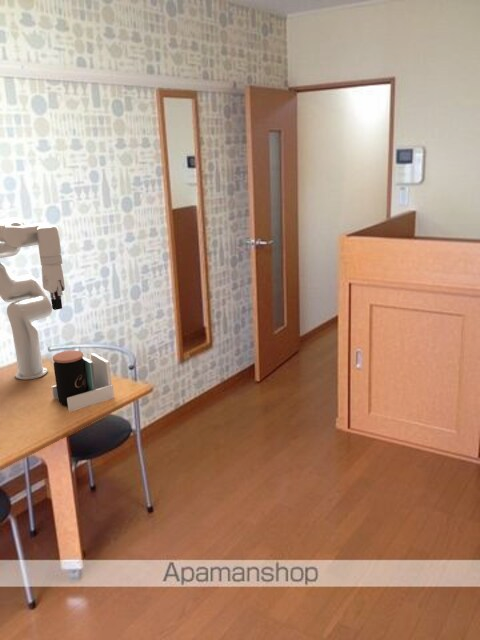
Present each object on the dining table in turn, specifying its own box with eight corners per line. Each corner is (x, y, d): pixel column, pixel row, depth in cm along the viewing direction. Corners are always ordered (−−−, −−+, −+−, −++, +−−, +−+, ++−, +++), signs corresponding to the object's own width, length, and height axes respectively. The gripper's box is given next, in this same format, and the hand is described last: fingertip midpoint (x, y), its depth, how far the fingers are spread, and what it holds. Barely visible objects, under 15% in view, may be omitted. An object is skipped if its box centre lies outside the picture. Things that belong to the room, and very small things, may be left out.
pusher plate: (80, 391, 227) (75, 354, 223) (83, 390, 228) (78, 353, 224) (94, 401, 218) (89, 363, 214) (97, 400, 219) (92, 362, 215)
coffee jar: (81, 408, 214) (75, 361, 209) (53, 407, 216) (47, 360, 210) (93, 395, 224) (87, 350, 219) (66, 394, 226) (60, 350, 221)
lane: (53, 398, 223) (48, 363, 219) (96, 386, 233) (92, 352, 229) (69, 411, 211) (64, 374, 207) (114, 397, 222) (110, 362, 218)
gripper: (33, 259, 220) (40, 307, 226) (49, 264, 209) (55, 315, 214) (53, 256, 225) (59, 303, 230) (69, 261, 214) (75, 310, 219)
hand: (57, 308), depth 222 cm, fingers closed
